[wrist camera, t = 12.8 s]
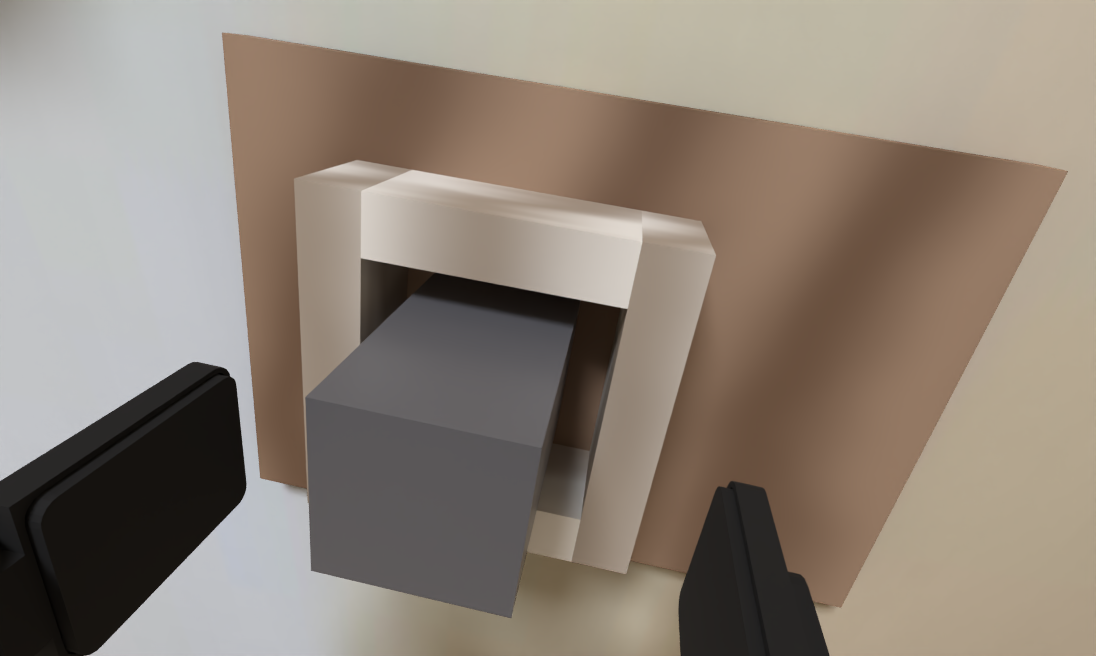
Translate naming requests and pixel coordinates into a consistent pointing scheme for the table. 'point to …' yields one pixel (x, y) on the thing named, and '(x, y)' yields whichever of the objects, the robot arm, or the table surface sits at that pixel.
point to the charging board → (632, 285)
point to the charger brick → (440, 442)
